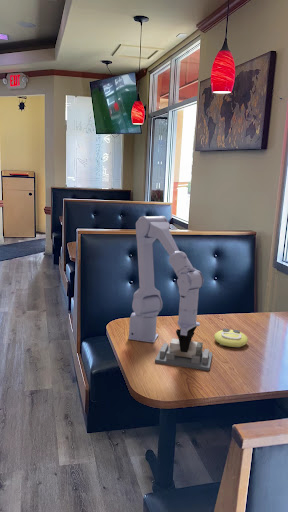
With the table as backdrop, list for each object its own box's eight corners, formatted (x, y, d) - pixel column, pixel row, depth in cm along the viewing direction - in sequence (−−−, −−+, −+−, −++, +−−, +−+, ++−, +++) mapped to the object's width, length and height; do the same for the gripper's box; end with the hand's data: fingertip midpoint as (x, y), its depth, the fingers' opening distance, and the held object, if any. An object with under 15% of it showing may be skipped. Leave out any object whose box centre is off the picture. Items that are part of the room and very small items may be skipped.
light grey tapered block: (169, 354, 135) (170, 342, 134) (171, 349, 139) (172, 338, 138) (200, 359, 133) (201, 347, 132) (201, 354, 137) (202, 342, 136)
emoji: (249, 342, 145) (247, 328, 156) (213, 338, 147) (215, 324, 158) (248, 352, 146) (246, 337, 157) (212, 348, 148) (214, 334, 159)
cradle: (154, 362, 132) (155, 353, 132) (162, 348, 144) (162, 339, 143) (209, 370, 129) (209, 361, 128) (212, 355, 140) (212, 346, 139)
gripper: (198, 317, 125) (194, 359, 128) (203, 303, 139) (199, 342, 142) (174, 314, 127) (171, 356, 129) (181, 301, 141) (179, 339, 143)
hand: (185, 349), depth 136 cm, fingers closed on light grey tapered block, 4 cm apart
